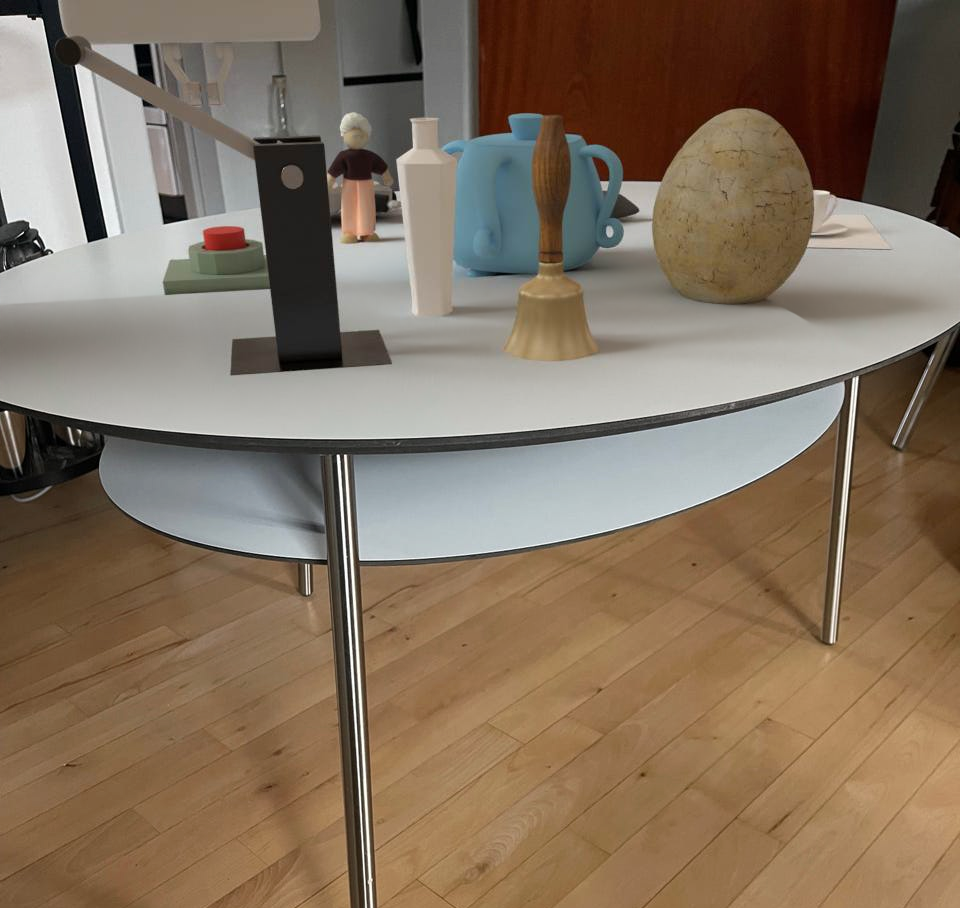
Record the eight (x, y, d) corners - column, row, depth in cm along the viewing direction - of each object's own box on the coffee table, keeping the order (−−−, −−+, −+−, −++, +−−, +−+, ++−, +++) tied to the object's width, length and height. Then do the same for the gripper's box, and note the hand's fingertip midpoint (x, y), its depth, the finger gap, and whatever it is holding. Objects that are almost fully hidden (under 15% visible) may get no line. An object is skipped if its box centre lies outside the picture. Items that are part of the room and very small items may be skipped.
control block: (166, 307, 89) (158, 259, 87) (173, 284, 97) (166, 239, 95) (294, 299, 91) (289, 252, 89) (291, 277, 98) (286, 233, 96)
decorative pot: (632, 284, 94) (644, 119, 87) (462, 295, 91) (459, 125, 84) (578, 249, 108) (584, 104, 101) (428, 258, 105) (423, 109, 98)
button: (204, 255, 90) (201, 234, 89) (206, 247, 93) (203, 227, 92) (246, 253, 91) (243, 232, 90) (246, 245, 94) (244, 225, 93)
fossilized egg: (666, 284, 94) (680, 100, 86) (809, 295, 89) (838, 102, 81) (629, 319, 84) (641, 114, 76) (788, 333, 79) (819, 117, 72)
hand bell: (483, 378, 71) (480, 122, 63) (502, 344, 78) (502, 109, 69) (603, 383, 70) (616, 122, 61) (611, 348, 77) (624, 109, 68)
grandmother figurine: (340, 247, 110) (329, 115, 104) (324, 241, 113) (313, 113, 106) (402, 238, 114) (396, 111, 107) (385, 233, 117) (378, 108, 110)
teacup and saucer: (767, 238, 111) (772, 197, 109) (763, 224, 118) (768, 186, 115) (851, 239, 110) (858, 198, 107) (842, 226, 116) (848, 187, 114)
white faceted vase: (417, 316, 85) (407, 115, 77) (465, 321, 84) (461, 116, 76) (393, 331, 82) (380, 121, 74) (443, 335, 80) (436, 122, 72)
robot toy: (388, 214, 132) (269, 211, 128) (388, 176, 129) (268, 172, 126) (404, 231, 122) (276, 229, 118) (405, 190, 119) (275, 186, 116)
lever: (48, 65, 59) (61, 23, 58) (61, 62, 64) (74, 22, 63) (304, 205, 66) (320, 169, 65) (301, 193, 70) (316, 159, 69)
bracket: (232, 392, 69) (197, 151, 61) (234, 354, 77) (203, 135, 69) (394, 381, 71) (380, 145, 63) (380, 345, 78) (366, 130, 70)
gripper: (312, -93, 83) (328, 100, 90) (47, -93, 80) (86, 107, 87) (316, -100, 77) (333, 106, 85) (33, -100, 74) (75, 113, 82)
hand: (206, 106), depth 86 cm, fingers closed
